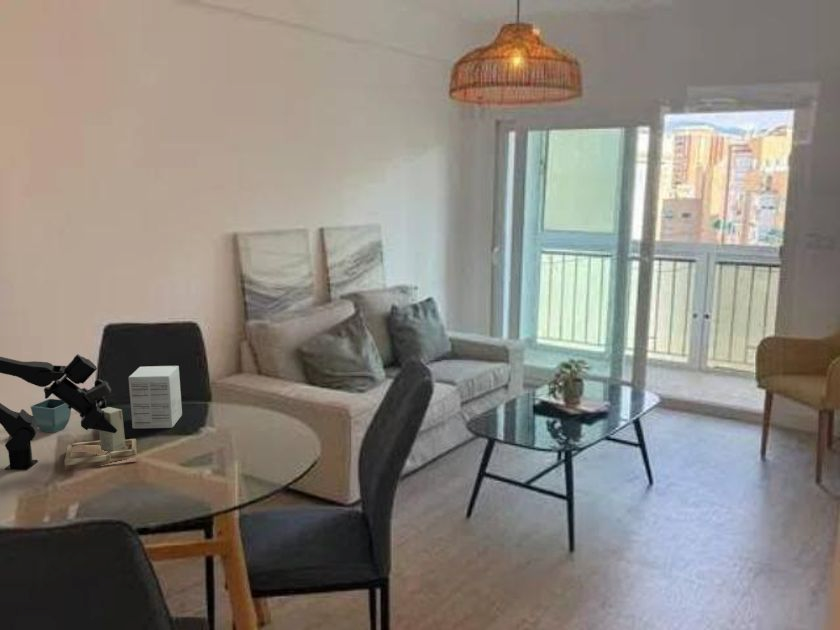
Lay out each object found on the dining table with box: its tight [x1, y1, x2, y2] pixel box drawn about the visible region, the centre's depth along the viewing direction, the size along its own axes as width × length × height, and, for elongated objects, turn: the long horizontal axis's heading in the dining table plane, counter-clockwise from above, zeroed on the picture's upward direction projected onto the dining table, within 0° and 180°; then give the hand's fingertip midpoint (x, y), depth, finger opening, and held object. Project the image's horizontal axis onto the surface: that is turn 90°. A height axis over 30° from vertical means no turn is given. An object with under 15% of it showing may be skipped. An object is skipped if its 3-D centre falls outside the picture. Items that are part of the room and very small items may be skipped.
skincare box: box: [98, 406, 126, 452], centre depth 230 cm, size 6×4×12 cm
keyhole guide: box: [63, 438, 138, 472], centre depth 230 cm, size 19×16×3 cm
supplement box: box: [128, 365, 183, 429], centre depth 259 cm, size 13×13×18 cm
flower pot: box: [30, 398, 72, 434], centre depth 252 cm, size 9×9×9 cm
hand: (116, 427), depth 230 cm, fingers closed on skincare box, 7 cm apart
